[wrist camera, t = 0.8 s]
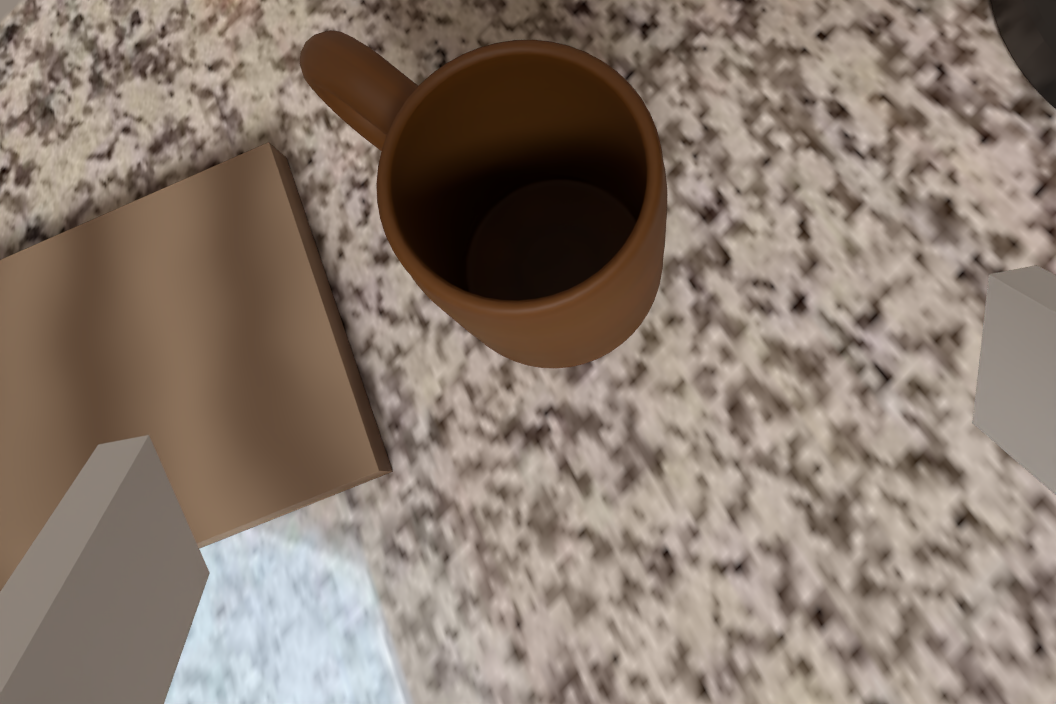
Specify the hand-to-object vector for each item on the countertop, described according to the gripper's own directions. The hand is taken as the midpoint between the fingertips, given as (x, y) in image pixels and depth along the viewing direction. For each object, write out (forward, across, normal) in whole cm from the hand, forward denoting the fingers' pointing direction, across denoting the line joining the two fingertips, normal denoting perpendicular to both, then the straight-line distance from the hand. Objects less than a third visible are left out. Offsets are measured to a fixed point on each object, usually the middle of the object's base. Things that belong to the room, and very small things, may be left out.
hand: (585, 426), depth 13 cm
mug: (+18, 0, -3) cm, 18 cm away
